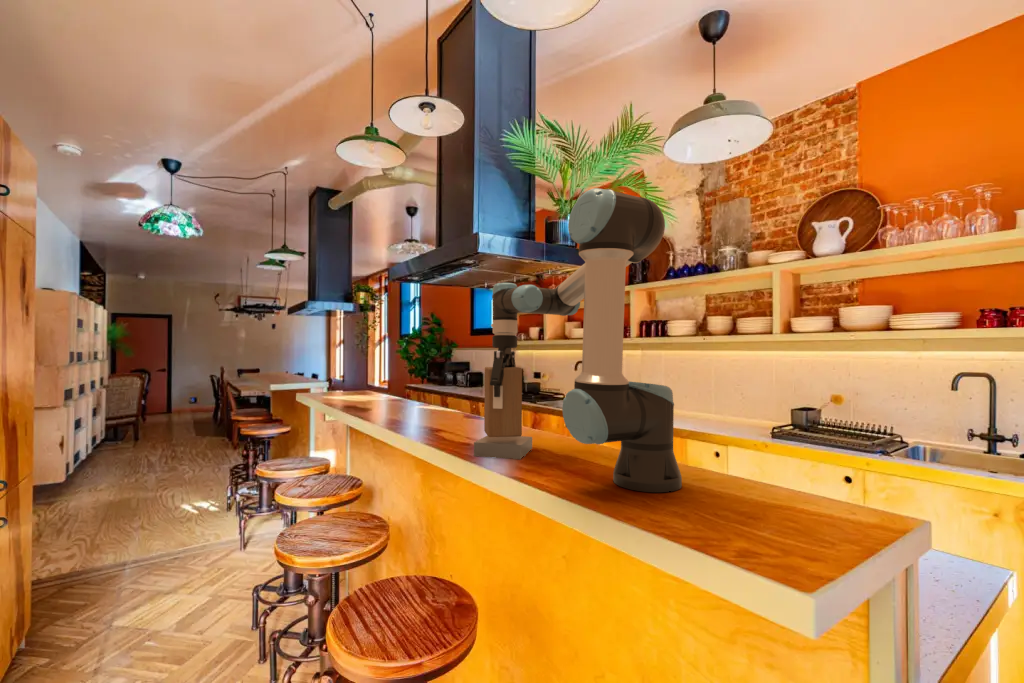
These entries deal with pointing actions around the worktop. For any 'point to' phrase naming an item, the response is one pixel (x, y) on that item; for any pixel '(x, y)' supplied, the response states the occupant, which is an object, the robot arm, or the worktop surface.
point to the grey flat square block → (503, 447)
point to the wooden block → (504, 405)
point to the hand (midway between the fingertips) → (504, 406)
